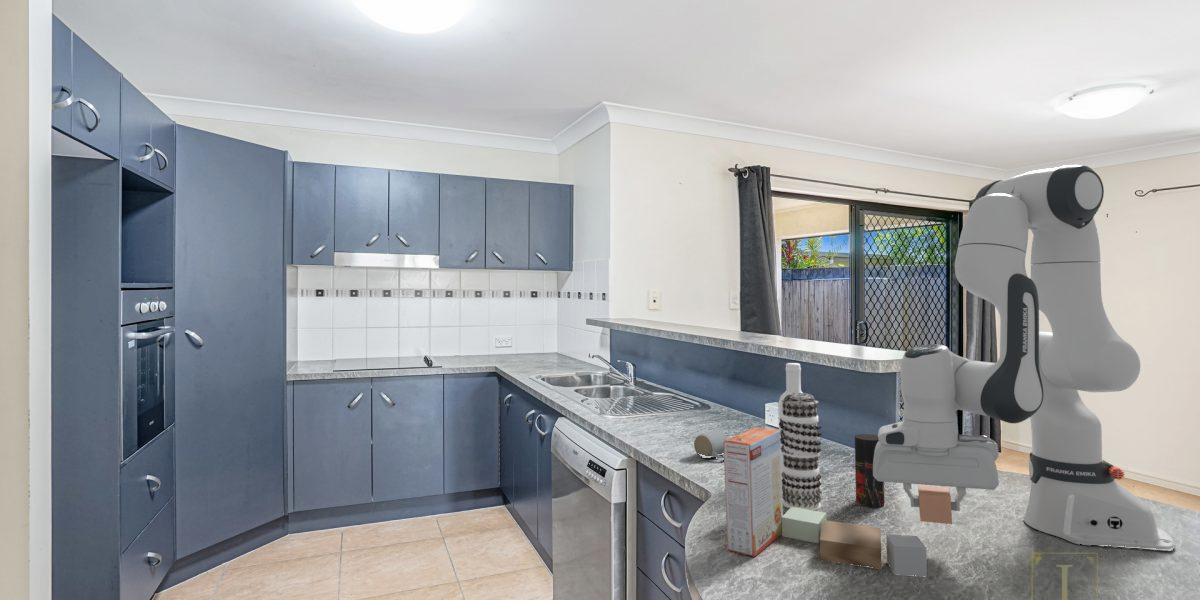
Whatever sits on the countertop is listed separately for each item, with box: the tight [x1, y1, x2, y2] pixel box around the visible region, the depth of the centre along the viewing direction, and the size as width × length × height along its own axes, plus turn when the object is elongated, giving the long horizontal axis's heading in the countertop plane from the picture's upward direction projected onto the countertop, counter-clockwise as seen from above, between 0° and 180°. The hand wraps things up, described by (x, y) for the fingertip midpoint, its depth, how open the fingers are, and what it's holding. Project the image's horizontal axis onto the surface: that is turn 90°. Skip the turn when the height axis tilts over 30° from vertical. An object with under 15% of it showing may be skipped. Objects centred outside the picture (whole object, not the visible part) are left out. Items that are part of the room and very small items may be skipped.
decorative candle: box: [778, 392, 823, 511], centre depth 135 cm, size 9×9×25 cm
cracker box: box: [723, 426, 784, 558], centre depth 115 cm, size 14×6×21 cm, turn 141°
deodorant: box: [854, 433, 885, 509], centre depth 135 cm, size 6×6×15 cm
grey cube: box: [885, 533, 928, 578], centre depth 103 cm, size 5×5×5 cm
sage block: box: [781, 507, 828, 545], centre depth 119 cm, size 7×7×4 cm
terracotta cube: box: [917, 484, 953, 525], centre depth 110 cm, size 5×5×5 cm
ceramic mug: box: [693, 428, 729, 458], centre depth 176 cm, size 11×8×8 cm
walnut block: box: [819, 520, 883, 570], centre depth 109 cm, size 10×10×4 cm
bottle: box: [777, 362, 804, 479], centre depth 153 cm, size 8×8×30 cm
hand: (934, 508), depth 110 cm, fingers closed on terracotta cube, 5 cm apart
